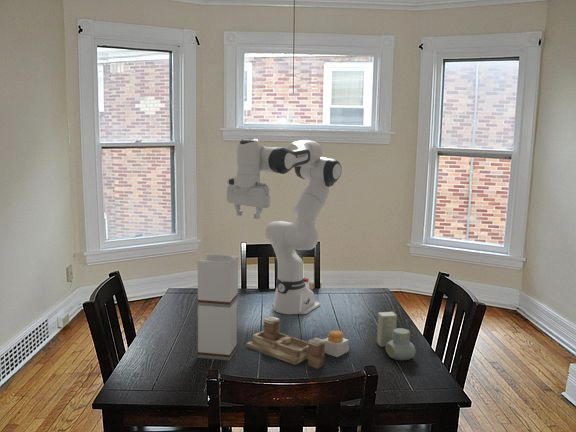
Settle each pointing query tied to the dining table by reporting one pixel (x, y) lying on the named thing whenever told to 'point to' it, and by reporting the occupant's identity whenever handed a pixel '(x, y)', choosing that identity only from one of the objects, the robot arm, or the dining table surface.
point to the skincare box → (385, 327)
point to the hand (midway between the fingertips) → (248, 217)
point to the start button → (335, 336)
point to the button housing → (336, 347)
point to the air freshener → (400, 345)
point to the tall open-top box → (217, 306)
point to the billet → (316, 352)
